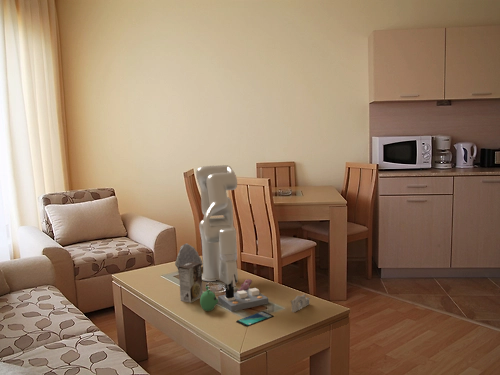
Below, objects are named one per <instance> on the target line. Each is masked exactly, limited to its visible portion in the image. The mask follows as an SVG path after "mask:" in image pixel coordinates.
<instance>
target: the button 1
mask: <svg viewBox="0 0 500 375" xmlns="http://www.w3.org/2000/svg"><path fill="white" fill-rule="evenodd" d="M224 299H225V300H226V301H231V300H235V297H233V298H226V296H225V297H224Z"/></svg>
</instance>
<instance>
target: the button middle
mask: <svg viewBox="0 0 500 375" xmlns="http://www.w3.org/2000/svg"><path fill="white" fill-rule="evenodd" d="M235 293H237V297H238V298H240V299H241V298H246V297H247V292H246V291H244V290H242V291H238V290H237V291H236V292H235Z"/></svg>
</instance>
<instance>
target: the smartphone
mask: <svg viewBox="0 0 500 375" xmlns="http://www.w3.org/2000/svg"><path fill="white" fill-rule="evenodd" d="M274 317H275V316H274V315H273V314H271V313H270V312H269V313H268V312H266V311H264V310H262V311H260V312H256V313H254V314H252V315H249V316H245V317H243V318H239V319H237V320H235V321H236V323H238V324H239V325H242V326H244V327H245V328H247V327H248V328H249V327H251V326H253V325H257V324H258V323H261V322H263V321H266V320H268V319H271V318H274Z"/></svg>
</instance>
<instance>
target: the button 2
mask: <svg viewBox="0 0 500 375" xmlns="http://www.w3.org/2000/svg"><path fill="white" fill-rule="evenodd" d="M248 293H249V295H251V296H255V295H259V293H260V290H259V289H258V288H256V287H253V288H250V289H248Z"/></svg>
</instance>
